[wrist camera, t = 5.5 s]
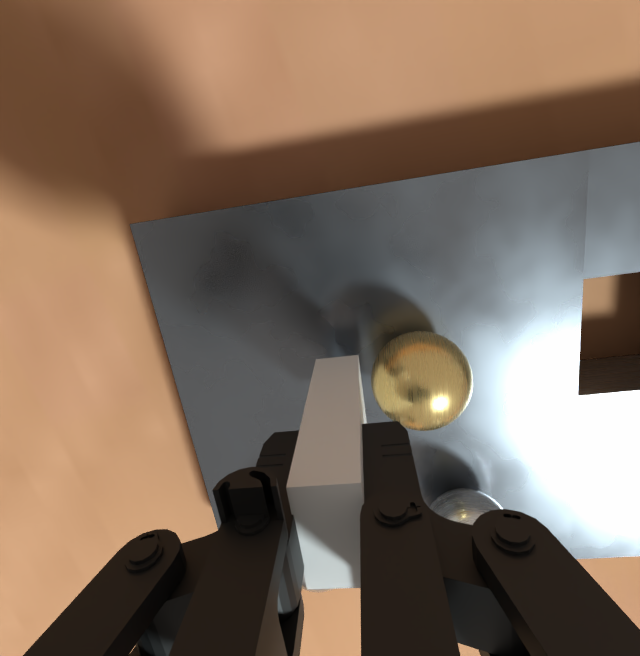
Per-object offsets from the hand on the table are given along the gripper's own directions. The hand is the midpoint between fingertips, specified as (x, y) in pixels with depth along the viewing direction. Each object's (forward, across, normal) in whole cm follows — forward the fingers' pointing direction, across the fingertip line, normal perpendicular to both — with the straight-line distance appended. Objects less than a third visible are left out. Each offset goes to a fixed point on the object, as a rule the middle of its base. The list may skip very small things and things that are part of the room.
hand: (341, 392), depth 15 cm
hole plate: (+5, +5, -2) cm, 7 cm away
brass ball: (0, +3, 0) cm, 3 cm away
